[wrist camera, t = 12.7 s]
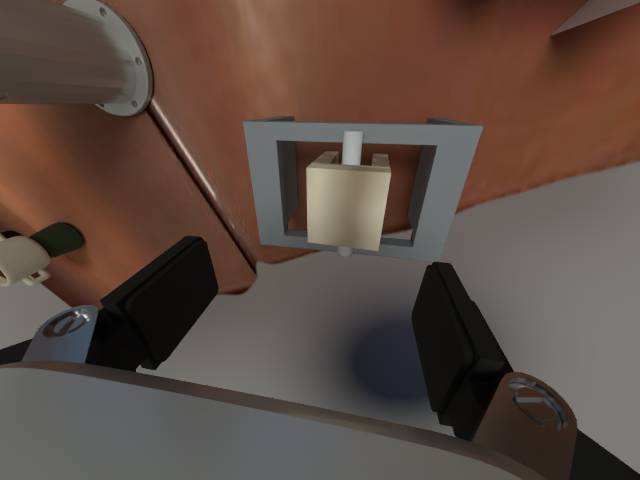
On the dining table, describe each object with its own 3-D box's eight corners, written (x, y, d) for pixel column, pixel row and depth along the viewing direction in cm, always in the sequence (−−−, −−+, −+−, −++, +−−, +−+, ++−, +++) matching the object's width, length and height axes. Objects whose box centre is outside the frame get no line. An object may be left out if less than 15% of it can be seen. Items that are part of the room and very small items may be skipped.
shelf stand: (289, 206, 38) (255, 251, 26) (283, 115, 31) (234, 122, 20) (417, 215, 35) (443, 271, 23) (441, 118, 28) (492, 127, 17)
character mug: (41, 218, 49) (-53, 252, 38) (56, 205, 47) (-40, 237, 36) (85, 258, 53) (11, 298, 42) (101, 248, 51) (27, 288, 40)
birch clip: (324, 210, 29) (307, 242, 22) (325, 150, 25) (306, 167, 19) (378, 215, 28) (378, 251, 21) (387, 154, 24) (391, 173, 17)
